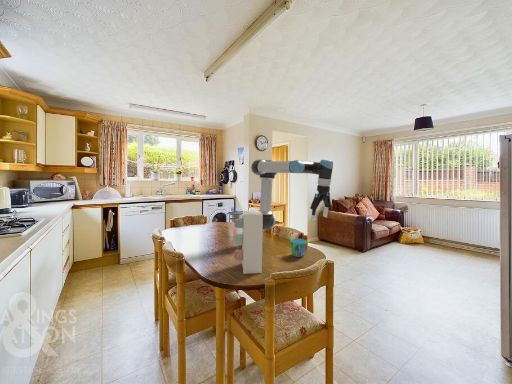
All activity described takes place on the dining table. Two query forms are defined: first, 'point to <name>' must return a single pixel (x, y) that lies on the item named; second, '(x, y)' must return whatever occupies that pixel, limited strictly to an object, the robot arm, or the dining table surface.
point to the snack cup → (298, 247)
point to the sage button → (238, 239)
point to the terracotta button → (238, 254)
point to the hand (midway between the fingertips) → (319, 218)
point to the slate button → (238, 223)
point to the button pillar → (252, 241)
